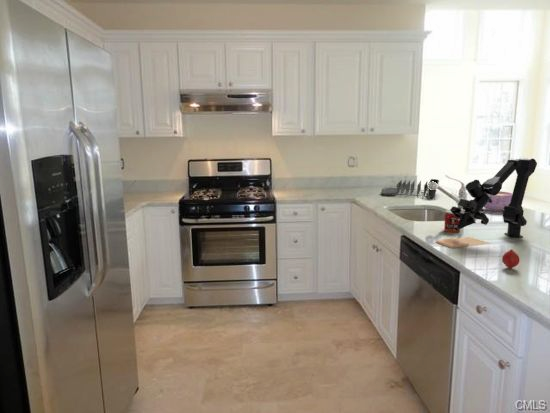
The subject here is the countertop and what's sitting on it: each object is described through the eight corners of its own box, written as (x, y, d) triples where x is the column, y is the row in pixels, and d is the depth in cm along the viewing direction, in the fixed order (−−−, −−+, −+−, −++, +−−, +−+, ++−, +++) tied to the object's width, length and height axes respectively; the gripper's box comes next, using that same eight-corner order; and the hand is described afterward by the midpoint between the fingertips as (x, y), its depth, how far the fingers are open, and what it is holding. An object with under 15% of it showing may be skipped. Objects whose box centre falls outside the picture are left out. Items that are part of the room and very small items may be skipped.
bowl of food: (474, 206, 273) (475, 190, 271) (506, 207, 267) (508, 191, 265) (481, 212, 254) (482, 195, 252) (515, 213, 249) (517, 195, 246)
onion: (499, 265, 156) (501, 246, 155) (515, 266, 155) (518, 247, 153) (503, 270, 151) (505, 250, 149) (520, 271, 149) (522, 251, 148)
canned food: (444, 232, 207) (445, 212, 205) (443, 229, 214) (445, 209, 212) (460, 233, 204) (461, 213, 202) (459, 230, 211) (460, 210, 209)
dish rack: (436, 199, 303) (437, 184, 301) (378, 196, 321) (379, 182, 319) (438, 193, 333) (439, 179, 331) (385, 190, 351) (386, 177, 349)
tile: (452, 238, 191) (436, 240, 187) (468, 243, 182) (452, 245, 178) (452, 242, 191) (435, 244, 188) (468, 247, 182) (451, 250, 179)
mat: (470, 237, 196) (470, 236, 196) (490, 244, 185) (490, 243, 185) (451, 240, 192) (451, 239, 192) (470, 246, 181) (470, 246, 181)
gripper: (454, 190, 192) (435, 214, 190) (486, 195, 174) (465, 222, 173) (465, 204, 196) (446, 228, 194) (498, 211, 178) (477, 237, 177)
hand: (458, 228), depth 184 cm, fingers closed
